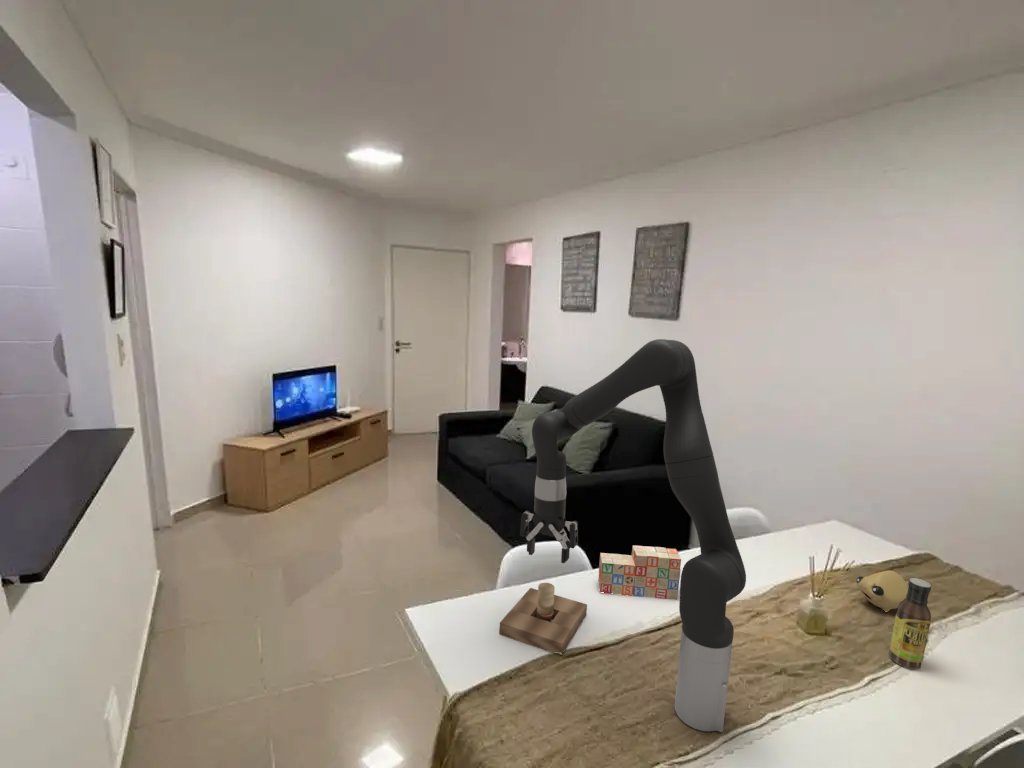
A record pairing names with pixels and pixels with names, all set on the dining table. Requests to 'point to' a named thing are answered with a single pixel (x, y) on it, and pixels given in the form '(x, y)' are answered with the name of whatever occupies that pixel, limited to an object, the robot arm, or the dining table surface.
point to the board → (543, 622)
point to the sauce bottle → (911, 626)
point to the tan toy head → (883, 589)
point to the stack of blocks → (641, 573)
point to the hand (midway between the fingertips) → (547, 557)
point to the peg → (545, 601)
